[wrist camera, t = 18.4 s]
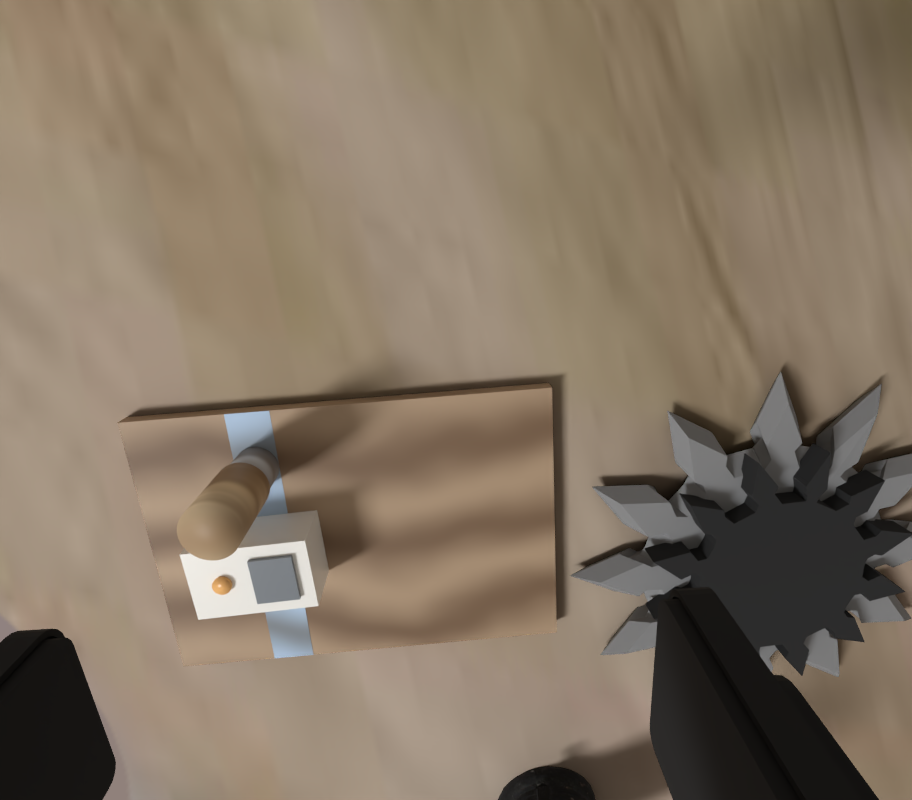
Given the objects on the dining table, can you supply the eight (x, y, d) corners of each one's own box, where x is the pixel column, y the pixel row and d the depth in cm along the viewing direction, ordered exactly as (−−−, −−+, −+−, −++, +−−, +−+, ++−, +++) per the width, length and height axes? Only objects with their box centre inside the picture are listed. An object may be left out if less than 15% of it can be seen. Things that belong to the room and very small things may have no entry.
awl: (227, 446, 37) (170, 507, 29) (277, 442, 37) (234, 502, 29) (236, 491, 38) (184, 562, 30) (285, 487, 38) (246, 558, 30)
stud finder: (204, 522, 39) (177, 557, 35) (317, 510, 39) (303, 543, 35) (220, 582, 40) (196, 622, 36) (329, 570, 40) (317, 609, 36)
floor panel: (127, 417, 37) (117, 422, 36) (548, 382, 38) (552, 387, 37) (190, 654, 43) (183, 666, 42) (553, 621, 44) (556, 632, 43)
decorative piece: (826, 780, 46) (505, 671, 41) (796, 738, 50) (499, 634, 45) (1079, 477, 38) (723, 299, 33) (1021, 455, 42) (693, 292, 37)
